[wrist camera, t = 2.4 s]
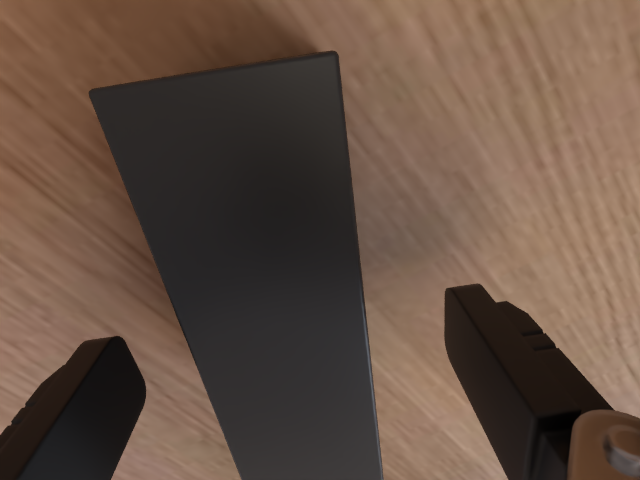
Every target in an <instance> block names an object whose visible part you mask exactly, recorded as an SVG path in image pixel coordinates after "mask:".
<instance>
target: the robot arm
mask: <svg viewBox="0 0 640 480" xmlns="http://www.w3.org/2000/svg"><path fill="white" fill-rule="evenodd" d="M444 337H445V346H446V350H447V354H448V357H449V360H450V363H451V365H452V367H453V369H454V371H455V373H456V375H457V377H458V379H459V381H460V383H461V385H462V387H463V389H464V391H465V393H466V395H467V397H468V399H469V401H470V403H471V405H472V407H473V409H474V411H475V413H476V415H477V417H478V419H479V421H480V423H481V425H482V427H483V429H484V431H485V433H486V435H487V437H488V439H489V441H490V443H491V445H492V447H493V449H494V451H495V453H496V456H497V458H498V460H499V462H500V464H501V466H502V468H503V470H504V472H505V474H506V476H507V478H508V480H640V418H637V417H635V416H632V415H629V414H626V413H623V412H619V411H615V410H614V409H613V408H612V407H611V406H610V405H609V404H608V403H607V402H606V401H605V399H604V398H603V397H602V396H601V395H600V394H599V393H598V392H597V390H596V389H595V388H594V387H593V386H592V385H591V384H590V383H589V382H588V380H587V379H586V378H585V377H584V376H583V375H582V374H581V373H580V371H579V370H578V369H577V368H576V367H575V366H574V365H573V364H572V362H571V361H570V360H569V359H568V358H567V357H566V356H565V355H564V354H563V352H562V351H561V350H560V349H559V348H556V346H555V343H554V342H553V341H552V340H551V339H550V338H549V337H548V336H547V335H546V333H545V334H544V333H543V330H542V329H541V328H540V327H539V326H538V324H537V323H536V322H535V321H534V320H533V319H532V318H531V317H530V316H529V314H528V313H526V312H524V311H523V310H521V309H519V308H517V307H516V306H514V305H512V304H511V303H509V302H507V301H504V302H497V303H496V302H495V301H494V300H493V299H492V297H491V296H490V295H489V294H488V292H487V291H486V290H485V289H484V287H483V286H482V285H480V284H471V285H464V286H457V287H451V288H447V289H446V291H445V330H444ZM145 399H146V385H145V381H144V379H143V376H142V374H141V372H140V370H139V368H138V366H137V364H136V362H135V360H134V358H133V356H132V354H131V352H130V350H129V348H128V346H127V344H126V342H125V340H124V339H123V338H121V337H120V336H114V337H107V338H100V339H93V340H87V341H84V342H83V343H82V344H81V345H80V346H79V347H78V348H77V350H76V351H75V352H74V354H73V355H72V356H71V358H70V359H69V360H68V361H67V363H66V364H65V365H63V366H62V367H61V368H59V369H58V370H57V371H56V372H55V373H53V374H52V375H51V376H50V377H49V378H47V379H46V380H45V381H44V382H43V383H41V385H40V386H39V387H38V388H37V390H36V391H35V392H34V393H33V395H32V396H31V397H30V399H29V400H28V401H27V402H26V404H25V405H26V406H25V408H22V409H21V410H20V411H19V412H18V414H17V415H16V416H15V417H14V419H13V420H12V421H11V422H12V424H11V426H7V427H6V429H5V430H4V431H3V432H2V434H1V435H0V480H111V478H112V476H113V473H114V471H115V469H116V467H117V464H118V462H119V460H120V458H121V456H122V453H123V451H124V449H125V447H126V444H127V442H128V440H129V438H130V436H131V433H132V431H133V429H134V427H135V424H136V422H137V420H138V418H139V415H140V413H141V411H142V409H143V406H144V403H145Z"/></svg>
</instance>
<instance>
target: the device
mask: <svg viewBox="0 0 640 480" xmlns="http://www.w3.org/2000/svg"><path fill="white" fill-rule="evenodd" d="M89 97H90V99H91V102H92V104H93V107H94V109H95V112H96V114H97V117H98V119H99V122H100V124H101V127H102V129H103V132H104V134H105V137H106V139H107V142H108V144H109V147H110V149H111V152H112V154H113V157H114V159H115V162H116V165H117V167H118V170H119V172H120V175H121V177H122V180H123V182H124V185H125V187H126V190H127V192H128V195H129V197H130V200H131V202H132V205H133V207H134V210H135V212H136V215H137V217H138V220H139V222H140V225H141V227H142V230H143V232H144V235H145V238H146V240H147V243H148V245H149V248H150V250H151V253H152V255H153V258H154V260H155V263H156V265H157V268H158V270H159V273H160V275H161V278H162V280H163V283H164V285H165V288H166V290H167V293H168V295H169V298H170V300H171V303H172V305H173V308H174V311H175V313H176V316H177V318H178V321H179V323H180V326H181V328H182V331H183V333H184V336H185V338H186V341H187V343H188V346H189V348H190V351H191V353H192V356H193V358H194V361H195V363H196V366H197V368H198V371H199V373H200V376H201V378H202V381H203V384H204V386H205V389H206V391H207V394H208V396H209V399H210V401H211V404H212V406H213V409H214V411H215V414H216V416H217V419H218V421H219V424H220V426H221V429H222V431H223V434H224V436H225V439H226V441H227V444H228V446H229V449H230V451H231V454H232V457H233V459H234V462H235V464H236V467H237V469H238V472H239V474H240V477H241V479H242V480H384V478H383V469H382V460H381V450H380V441H379V432H378V422H377V413H376V403H375V394H374V385H373V375H372V366H371V356H370V347H369V338H368V328H367V319H366V310H365V300H364V291H363V281H362V272H361V263H360V253H359V244H358V234H357V225H356V216H355V206H354V197H353V188H352V178H351V169H350V159H349V150H348V141H347V131H346V122H345V112H344V103H343V94H342V84H341V75H340V66H339V56H338V54H337V52H335V51H326V52H319V53H313V54H306V55H300V56H294V57H287V58H281V59H275V60H268V61H262V62H256V63H250V64H243V65H237V66H231V67H224V68H218V69H212V70H206V71H199V72H193V73H187V74H180V75H174V76H168V77H162V78H156V79H150V80H143V81H137V82H131V83H125V84H119V85H113V86H106V87H100V88H94V89H91V90H90V91H89Z"/></svg>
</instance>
